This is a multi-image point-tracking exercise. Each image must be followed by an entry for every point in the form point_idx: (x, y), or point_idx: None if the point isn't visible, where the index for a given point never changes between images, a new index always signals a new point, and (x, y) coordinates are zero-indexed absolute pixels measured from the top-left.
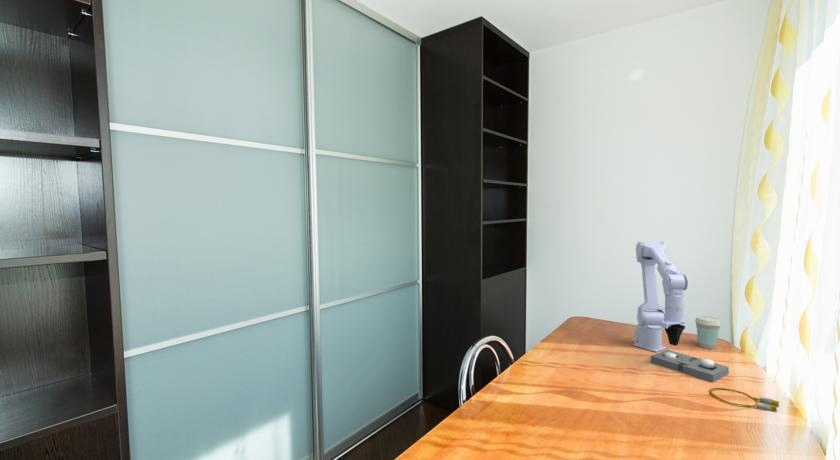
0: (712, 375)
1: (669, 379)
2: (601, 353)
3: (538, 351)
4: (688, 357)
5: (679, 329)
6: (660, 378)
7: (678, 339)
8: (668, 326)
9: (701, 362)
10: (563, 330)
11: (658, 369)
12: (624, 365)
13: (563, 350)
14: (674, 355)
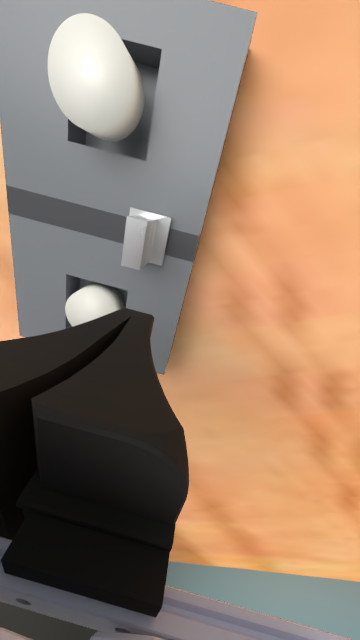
0: (254, 22)
1: (336, 263)
2: (197, 476)
3: (296, 570)
4: (135, 216)
5: (156, 431)
6: (345, 296)
7: (113, 324)
8: (276, 632)
9: (119, 131)
10: None
11: (230, 321)
12: (268, 417)
13: (246, 538)
14: (96, 296)
